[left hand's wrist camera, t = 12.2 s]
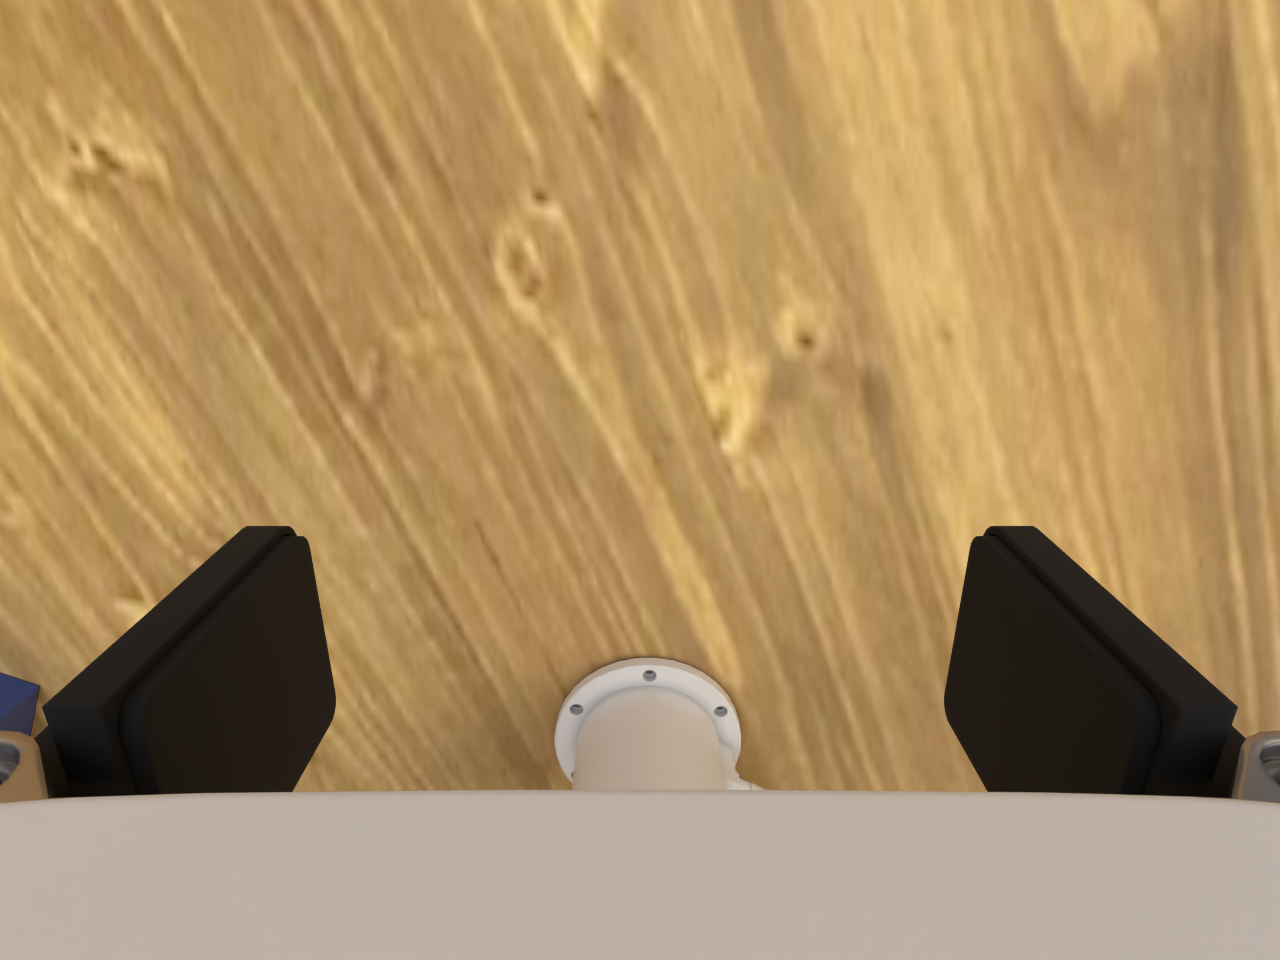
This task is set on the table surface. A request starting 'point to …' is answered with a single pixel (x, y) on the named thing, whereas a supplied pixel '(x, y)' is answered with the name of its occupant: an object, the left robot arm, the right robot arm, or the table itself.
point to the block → (17, 704)
